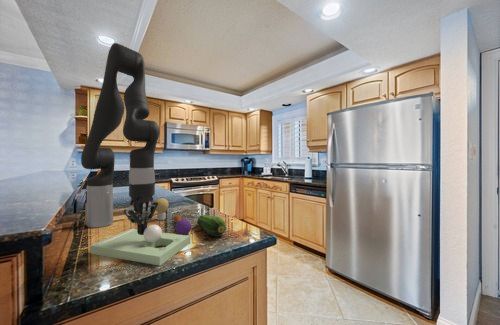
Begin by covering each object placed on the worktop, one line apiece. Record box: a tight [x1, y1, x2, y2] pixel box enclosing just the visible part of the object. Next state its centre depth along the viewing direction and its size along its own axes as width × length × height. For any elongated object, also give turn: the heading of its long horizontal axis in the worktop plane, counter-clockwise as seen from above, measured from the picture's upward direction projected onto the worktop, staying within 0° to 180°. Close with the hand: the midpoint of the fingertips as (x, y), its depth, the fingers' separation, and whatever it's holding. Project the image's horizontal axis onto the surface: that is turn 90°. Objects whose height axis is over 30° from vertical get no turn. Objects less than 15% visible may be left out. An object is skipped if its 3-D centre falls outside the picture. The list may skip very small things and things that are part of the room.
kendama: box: [173, 214, 192, 236], centre depth 90 cm, size 6×6×20 cm
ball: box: [143, 224, 163, 242], centre depth 70 cm, size 6×6×6 cm
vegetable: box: [196, 214, 227, 238], centre depth 88 cm, size 7×7×20 cm
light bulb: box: [154, 197, 169, 221], centre depth 102 cm, size 6×6×10 cm
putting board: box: [89, 228, 191, 266], centre depth 71 cm, size 25×16×3 cm, turn 75°
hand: (142, 234), depth 71 cm, fingers closed
